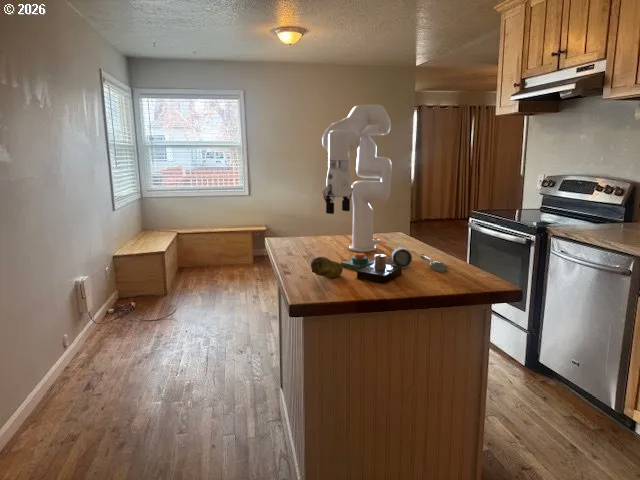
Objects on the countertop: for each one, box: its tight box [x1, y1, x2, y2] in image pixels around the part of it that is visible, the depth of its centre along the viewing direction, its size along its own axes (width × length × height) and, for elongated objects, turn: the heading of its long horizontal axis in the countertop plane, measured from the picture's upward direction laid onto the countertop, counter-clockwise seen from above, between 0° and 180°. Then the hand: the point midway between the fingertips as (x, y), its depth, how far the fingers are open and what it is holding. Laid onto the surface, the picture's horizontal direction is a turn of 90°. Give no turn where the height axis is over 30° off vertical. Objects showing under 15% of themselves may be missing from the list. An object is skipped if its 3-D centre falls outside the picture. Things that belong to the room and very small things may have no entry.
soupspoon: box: [420, 253, 448, 273], centre depth 177 cm, size 22×3×7 cm
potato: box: [310, 256, 344, 279], centre depth 158 cm, size 8×13×8 cm, turn 108°
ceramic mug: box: [386, 246, 413, 269], centre depth 174 cm, size 11×8×8 cm
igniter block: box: [340, 255, 375, 271], centre depth 175 cm, size 12×10×4 cm
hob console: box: [356, 263, 403, 285], centre depth 160 cm, size 14×11×3 cm
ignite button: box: [355, 252, 366, 259], centre depth 174 cm, size 4×4×2 cm
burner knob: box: [374, 253, 387, 270], centre depth 159 cm, size 4×4×5 cm
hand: (338, 212), depth 162 cm, fingers open, 9 cm apart
